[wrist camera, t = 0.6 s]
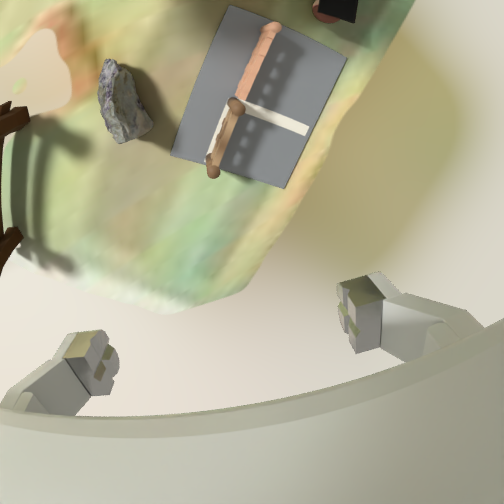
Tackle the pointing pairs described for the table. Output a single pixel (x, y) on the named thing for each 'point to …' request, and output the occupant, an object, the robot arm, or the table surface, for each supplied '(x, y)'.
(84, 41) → the table surface
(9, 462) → the robot arm
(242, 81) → the hinged fence panel
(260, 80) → the card
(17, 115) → the decorative fence
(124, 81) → the mineral rock
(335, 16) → the figurine character
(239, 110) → the fixed fence section
